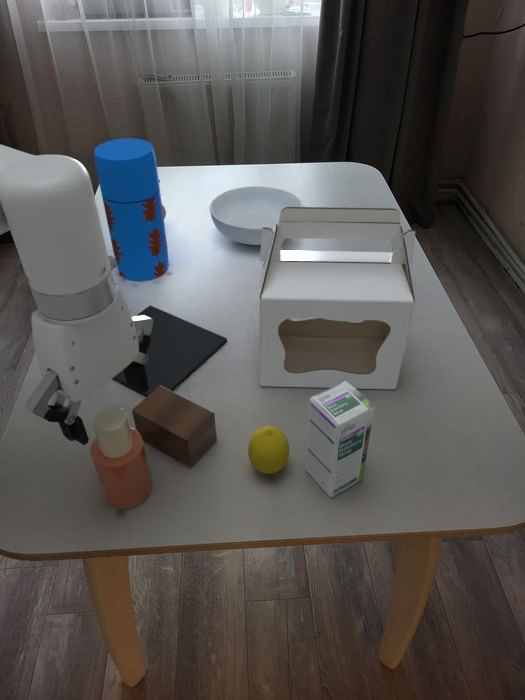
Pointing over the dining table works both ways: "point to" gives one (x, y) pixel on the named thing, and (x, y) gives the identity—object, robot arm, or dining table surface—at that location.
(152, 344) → the mat
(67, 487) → the dining table surface
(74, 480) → the dining table surface
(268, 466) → the lemon
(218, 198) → the serving bowl
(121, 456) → the two-tone stacked cylinder
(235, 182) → the dining table surface
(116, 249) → the thermos
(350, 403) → the syrup box
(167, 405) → the block
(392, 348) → the gable box
